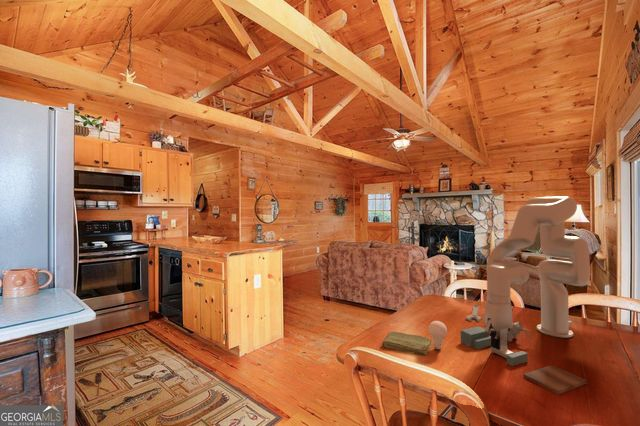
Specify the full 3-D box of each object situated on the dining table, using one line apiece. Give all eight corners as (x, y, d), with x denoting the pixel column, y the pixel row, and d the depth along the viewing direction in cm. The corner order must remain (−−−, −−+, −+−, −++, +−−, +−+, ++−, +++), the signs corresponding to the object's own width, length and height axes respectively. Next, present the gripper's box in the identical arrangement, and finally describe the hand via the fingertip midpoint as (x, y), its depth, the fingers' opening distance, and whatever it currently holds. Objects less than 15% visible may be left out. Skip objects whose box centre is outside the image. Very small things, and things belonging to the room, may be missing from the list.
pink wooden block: (498, 349, 115) (498, 323, 115) (513, 356, 110) (513, 329, 110) (491, 351, 114) (491, 325, 114) (506, 358, 109) (506, 330, 108)
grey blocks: (478, 338, 127) (478, 326, 127) (529, 361, 107) (529, 347, 107) (460, 342, 123) (460, 330, 123) (510, 366, 104) (510, 352, 104)
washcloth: (428, 358, 112) (428, 349, 112) (381, 348, 119) (381, 340, 119) (431, 343, 123) (431, 335, 123) (388, 336, 131) (388, 328, 131)
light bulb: (437, 354, 113) (437, 325, 113) (425, 347, 119) (424, 319, 119) (451, 351, 116) (450, 322, 115) (437, 344, 122) (437, 317, 121)
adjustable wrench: (473, 307, 167) (473, 304, 167) (486, 309, 164) (486, 306, 164) (465, 321, 147) (465, 317, 147) (480, 323, 143) (480, 320, 143)
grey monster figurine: (498, 333, 132) (496, 316, 132) (531, 339, 125) (529, 320, 125) (494, 341, 124) (493, 323, 125) (530, 347, 117) (528, 327, 117)
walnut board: (551, 367, 103) (551, 365, 103) (586, 383, 93) (586, 380, 93) (523, 377, 97) (523, 374, 97) (558, 394, 88) (558, 391, 88)
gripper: (504, 292, 119) (505, 338, 120) (473, 298, 113) (474, 347, 113) (523, 298, 112) (524, 346, 113) (492, 304, 106) (492, 355, 106)
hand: (499, 346), depth 113 cm, fingers closed on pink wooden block, 3 cm apart
